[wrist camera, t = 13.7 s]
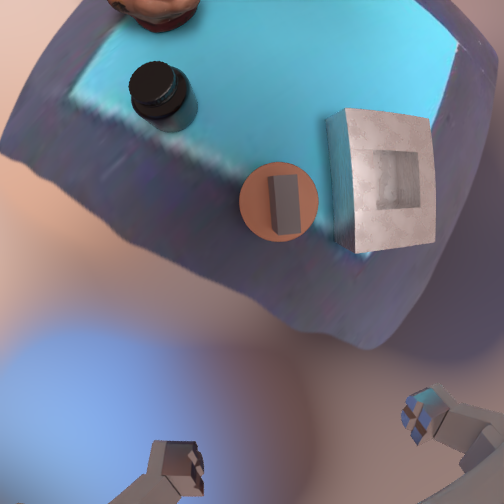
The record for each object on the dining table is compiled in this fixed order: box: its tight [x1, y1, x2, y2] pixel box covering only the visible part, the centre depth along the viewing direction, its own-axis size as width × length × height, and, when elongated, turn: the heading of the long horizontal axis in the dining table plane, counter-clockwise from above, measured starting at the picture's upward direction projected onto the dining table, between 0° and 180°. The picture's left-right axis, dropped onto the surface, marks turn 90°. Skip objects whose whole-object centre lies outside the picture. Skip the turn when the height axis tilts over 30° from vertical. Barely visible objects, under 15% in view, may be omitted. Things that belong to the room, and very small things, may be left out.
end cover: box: [239, 162, 318, 242], centre depth 32 cm, size 9×9×10 cm
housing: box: [325, 108, 436, 254], centre depth 34 cm, size 18×14×7 cm
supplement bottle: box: [128, 61, 198, 132], centre depth 27 cm, size 7×7×12 cm
